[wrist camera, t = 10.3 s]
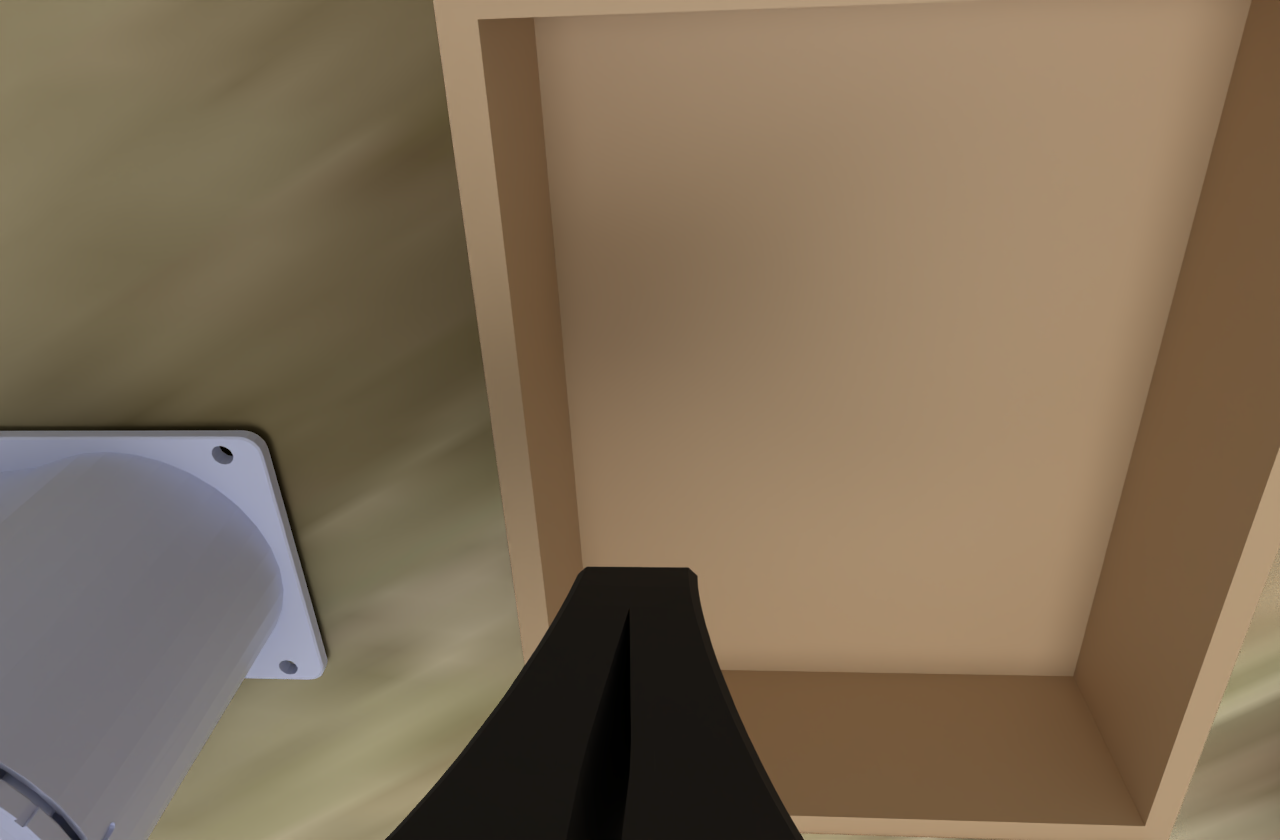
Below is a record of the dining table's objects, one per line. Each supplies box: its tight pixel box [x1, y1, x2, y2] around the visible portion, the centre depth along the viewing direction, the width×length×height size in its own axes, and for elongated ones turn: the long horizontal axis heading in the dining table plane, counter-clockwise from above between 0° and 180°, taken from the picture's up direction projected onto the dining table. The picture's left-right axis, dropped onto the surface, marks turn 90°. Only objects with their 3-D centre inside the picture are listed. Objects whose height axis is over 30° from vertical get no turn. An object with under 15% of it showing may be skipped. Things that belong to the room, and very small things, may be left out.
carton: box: [433, 0, 1280, 840], centre depth 19 cm, size 14×18×5 cm
